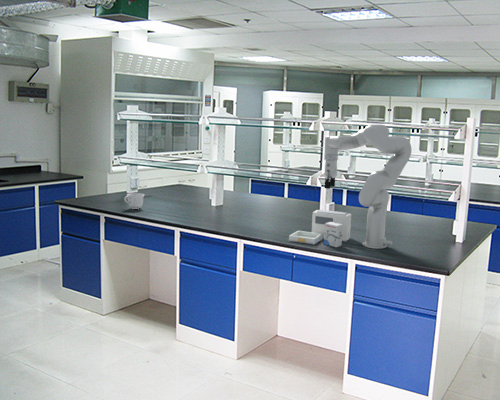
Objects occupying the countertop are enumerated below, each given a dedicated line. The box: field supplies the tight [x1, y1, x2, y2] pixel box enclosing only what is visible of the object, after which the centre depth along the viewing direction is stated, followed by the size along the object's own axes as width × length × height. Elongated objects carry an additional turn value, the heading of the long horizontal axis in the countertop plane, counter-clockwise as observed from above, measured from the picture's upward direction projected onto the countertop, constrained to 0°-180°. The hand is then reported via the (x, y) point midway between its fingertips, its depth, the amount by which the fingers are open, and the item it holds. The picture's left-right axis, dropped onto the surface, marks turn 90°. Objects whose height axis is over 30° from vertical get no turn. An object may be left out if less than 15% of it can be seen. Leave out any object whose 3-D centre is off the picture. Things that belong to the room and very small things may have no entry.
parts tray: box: [288, 230, 324, 245], centre depth 286 cm, size 15×14×3 cm
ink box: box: [323, 222, 343, 248], centre depth 276 cm, size 9×5×12 cm, turn 44°
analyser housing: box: [311, 209, 352, 242], centre depth 292 cm, size 20×9×15 cm, turn 64°
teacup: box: [124, 192, 145, 210], centre depth 358 cm, size 12×15×10 cm
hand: (329, 187), depth 298 cm, fingers open, 9 cm apart
